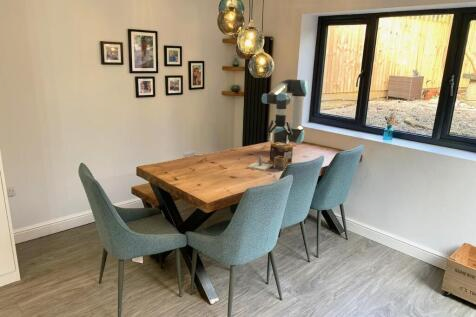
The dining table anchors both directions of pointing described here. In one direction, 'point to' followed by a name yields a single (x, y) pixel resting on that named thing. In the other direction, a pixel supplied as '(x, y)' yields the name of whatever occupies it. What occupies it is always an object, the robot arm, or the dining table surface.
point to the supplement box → (281, 151)
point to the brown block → (280, 161)
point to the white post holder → (260, 165)
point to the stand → (279, 168)
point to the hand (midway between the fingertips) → (279, 142)
